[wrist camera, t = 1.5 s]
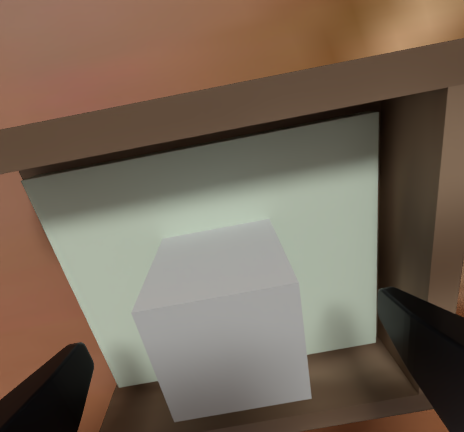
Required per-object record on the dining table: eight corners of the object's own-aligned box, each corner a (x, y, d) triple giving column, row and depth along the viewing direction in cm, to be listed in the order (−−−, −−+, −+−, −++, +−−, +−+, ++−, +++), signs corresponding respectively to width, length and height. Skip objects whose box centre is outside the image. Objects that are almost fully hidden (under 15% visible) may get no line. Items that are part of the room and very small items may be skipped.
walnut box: (385, 332, 15) (442, 407, 11) (129, 377, 15) (101, 465, 11) (393, 59, 10) (496, 31, 6) (21, 133, 10) (-89, 146, 7)
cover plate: (366, 329, 13) (441, 440, 9) (124, 372, 14) (78, 501, 9) (366, 111, 10) (492, 114, 5) (35, 175, 10) (-112, 229, 6)
